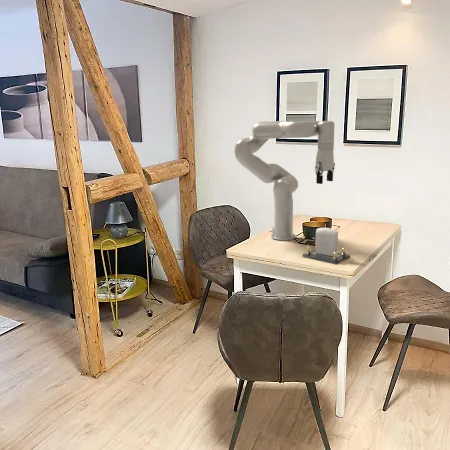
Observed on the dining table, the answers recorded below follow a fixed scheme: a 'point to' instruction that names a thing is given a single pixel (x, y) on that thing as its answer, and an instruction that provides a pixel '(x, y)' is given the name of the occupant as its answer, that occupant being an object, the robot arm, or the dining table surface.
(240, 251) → the dining table surface
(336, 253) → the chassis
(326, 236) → the photo printer
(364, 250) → the dining table surface
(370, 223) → the dining table surface
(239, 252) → the dining table surface
